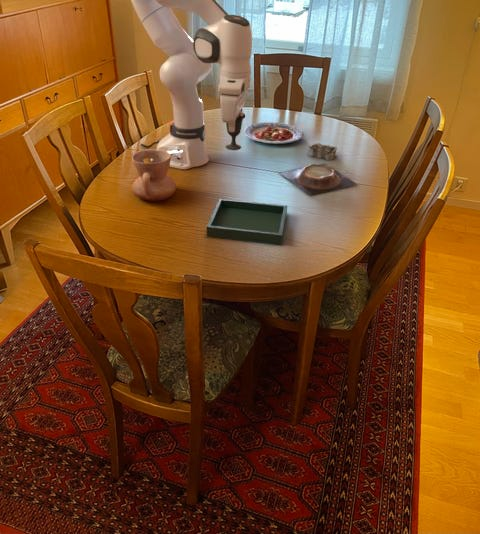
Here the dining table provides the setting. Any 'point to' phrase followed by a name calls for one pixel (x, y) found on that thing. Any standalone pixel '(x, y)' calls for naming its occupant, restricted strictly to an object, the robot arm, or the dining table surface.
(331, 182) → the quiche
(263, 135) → the ceramic plate
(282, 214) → the serving tray
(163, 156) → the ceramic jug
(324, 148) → the egg carton
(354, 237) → the dining table surface
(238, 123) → the sundae
